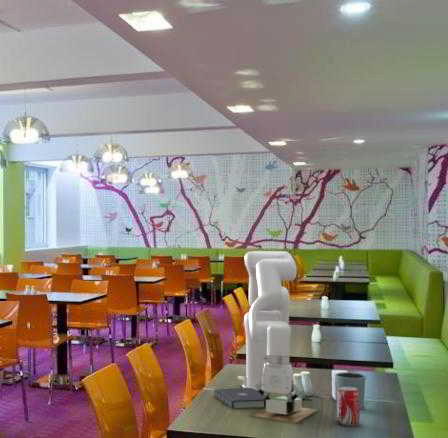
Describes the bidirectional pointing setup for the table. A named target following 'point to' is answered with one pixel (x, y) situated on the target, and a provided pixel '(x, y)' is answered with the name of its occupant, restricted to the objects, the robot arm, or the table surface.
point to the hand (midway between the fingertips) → (278, 410)
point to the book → (240, 398)
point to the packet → (282, 405)
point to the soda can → (348, 406)
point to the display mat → (288, 417)
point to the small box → (335, 382)
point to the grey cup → (353, 384)
